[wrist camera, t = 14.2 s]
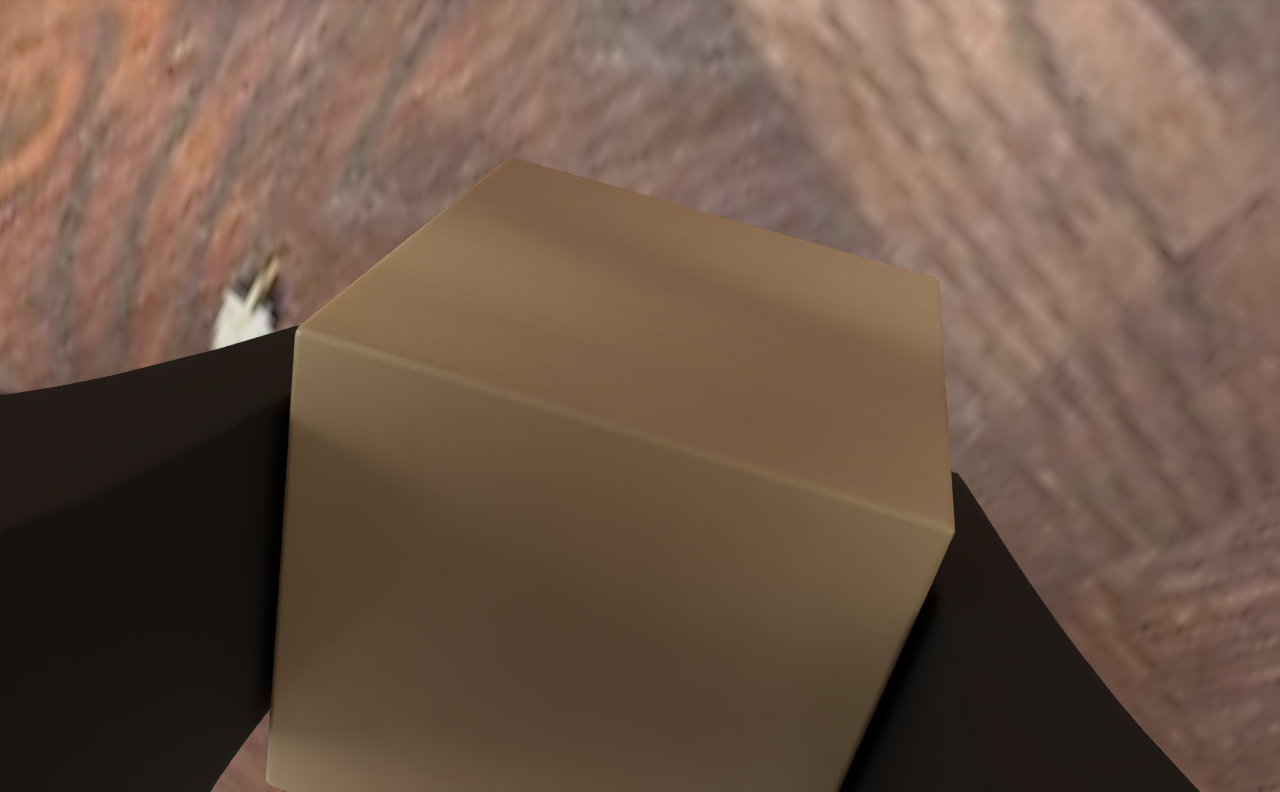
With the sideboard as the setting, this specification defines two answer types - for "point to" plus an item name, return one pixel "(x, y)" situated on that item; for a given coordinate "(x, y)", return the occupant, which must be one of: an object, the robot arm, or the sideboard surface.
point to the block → (603, 503)
